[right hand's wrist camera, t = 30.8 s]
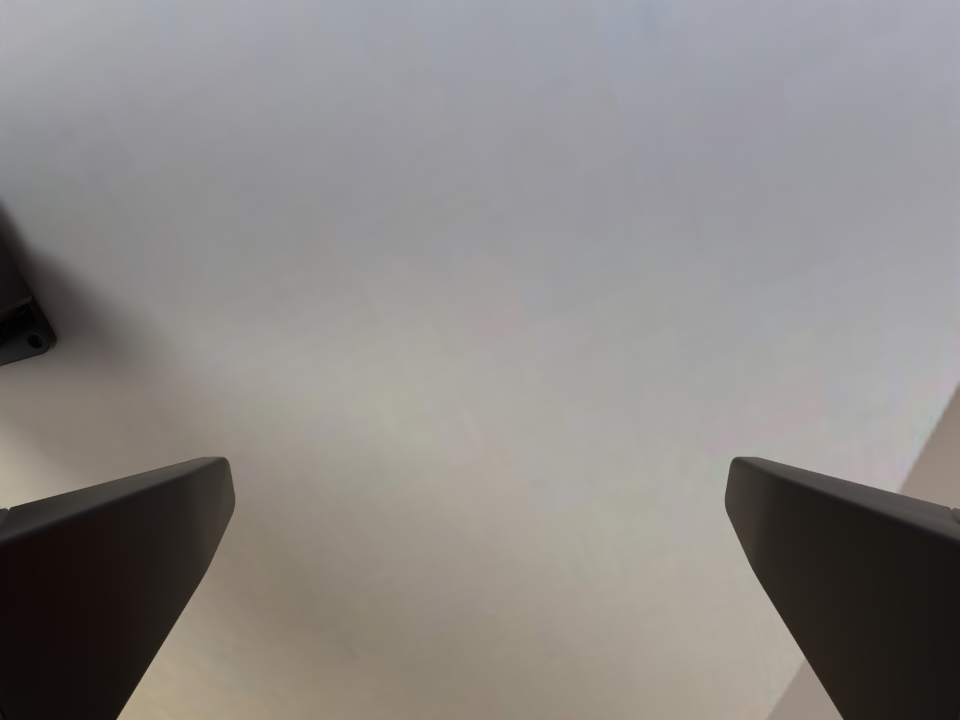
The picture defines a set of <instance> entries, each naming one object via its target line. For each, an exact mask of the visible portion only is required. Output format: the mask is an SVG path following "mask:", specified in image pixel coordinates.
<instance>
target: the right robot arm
mask: <svg viewBox="0 0 960 720" xmlns="http://www.w3.org/2000/svg"><path fill="white" fill-rule="evenodd" d="M35 335H37V336H39V337H40V338H41V339H42V342H43V344H42V343H40V342H38V341H37V340H36V337H35ZM56 340H57V338H56V336H55V333H54V331H53V330H52V328H51V326H50V324H49V323H48V321H47V319H46V317H45V316H44V314H43V312H42V310H41V309H40V307H39V305H38V303H37V301H36V300H35V298H34V296H33V294H32V293H31V291H30V289H29V287H28V286H27V284H26V282H25V280H24V278H23V277H22V275H21V273H20V271H19V270H18V268H17V266H16V264H15V263H14V261H13V259H12V257H11V256H10V254H9V252H8V250H7V249H6V247H5V245H4V243H3V242H2V240H1V238H0V366H2V365H5V364H9V363H12V362H16V361H19V360H23V359H26V358H30V357H33V356H37V355H40V354H43V353H45V352H47V351H48V350H50V349H52V348H54V346H55V345H56ZM234 507H235V493H234V487H233V481H232V475H231V470H230V464H229V462H228V460H227V459H226V458H224V457H202V458H198V459H194V460H190V461H186V462H183V463H179V464H175V465H171V466H167V467H163V468H160V469H156V470H152V471H148V472H144V473H140V474H137V475H133V476H129V477H125V478H121V479H118V480H114V481H110V482H106V483H102V484H98V485H95V486H91V487H87V488H83V489H79V490H76V491H72V492H68V493H64V494H60V495H56V496H53V497H49V498H45V499H41V500H37V501H34V502H30V503H26V504H22V505H18V506H14V507H11V508H10V509H9V511H8V509H6V508H3V509H0V720H117V718H118V716H119V715H120V713H121V711H122V710H123V708H124V706H125V705H126V703H127V702H128V700H129V698H130V697H131V695H132V693H133V692H134V690H135V688H136V687H137V685H138V684H139V682H140V680H141V679H142V677H143V675H144V674H145V672H146V670H147V669H148V667H149V665H150V664H151V662H152V661H153V659H154V657H155V656H156V654H157V652H158V651H159V649H160V647H161V646H162V644H163V643H164V641H165V639H166V638H167V636H168V634H169V633H170V631H171V629H172V628H173V626H174V624H175V623H176V621H177V620H178V618H179V616H180V615H181V613H182V611H183V610H184V608H185V606H186V605H187V603H188V601H189V600H190V598H191V597H192V595H193V593H194V592H195V590H196V588H197V587H198V585H199V583H200V582H201V580H202V578H203V577H204V575H205V573H206V571H207V569H208V567H209V565H210V563H211V561H212V559H213V557H214V554H215V552H216V550H217V548H218V545H219V543H220V541H221V539H222V536H223V534H224V532H225V530H226V527H227V525H228V523H229V521H230V518H231V516H232V514H233V511H234ZM725 507H726V511H727V514H728V516H729V518H730V521H731V523H732V525H733V527H734V530H735V532H736V534H737V536H738V539H739V541H740V543H741V545H742V548H743V550H744V552H745V554H746V557H747V559H748V561H749V563H750V565H751V567H752V569H753V571H754V573H755V575H756V577H757V578H758V580H759V582H760V583H761V585H762V587H763V588H764V590H765V592H766V593H767V595H768V597H769V598H770V600H771V601H772V603H773V605H774V606H775V608H776V610H777V611H778V613H779V615H780V616H781V618H782V620H783V621H784V623H785V624H786V626H787V628H788V629H789V631H790V633H791V634H792V636H793V638H794V639H795V641H796V642H797V644H798V646H799V647H800V649H801V651H802V652H803V654H804V656H805V657H806V659H807V660H808V662H809V664H810V665H811V667H812V669H813V670H814V672H815V674H816V675H817V677H818V679H819V680H820V682H821V683H822V685H823V687H824V688H825V690H826V692H827V693H828V695H829V697H830V698H831V700H832V702H833V703H834V705H835V706H836V708H837V710H838V711H839V713H840V715H841V716H842V718H843V720H960V509H957V508H954V509H952V511H951V509H950V508H949V507H945V506H942V505H938V504H934V503H930V502H927V501H923V500H919V499H915V498H911V497H907V496H904V495H900V494H896V493H892V492H888V491H885V490H881V489H877V488H873V487H869V486H865V485H862V484H858V483H854V482H850V481H846V480H842V479H839V478H835V477H831V476H827V475H823V474H820V473H816V472H812V471H808V470H804V469H800V468H797V467H793V466H789V465H785V464H781V463H778V462H774V461H770V460H766V459H762V458H758V457H736V458H734V459H733V460H732V462H731V464H730V470H729V475H728V481H727V487H726V493H725Z"/></svg>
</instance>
